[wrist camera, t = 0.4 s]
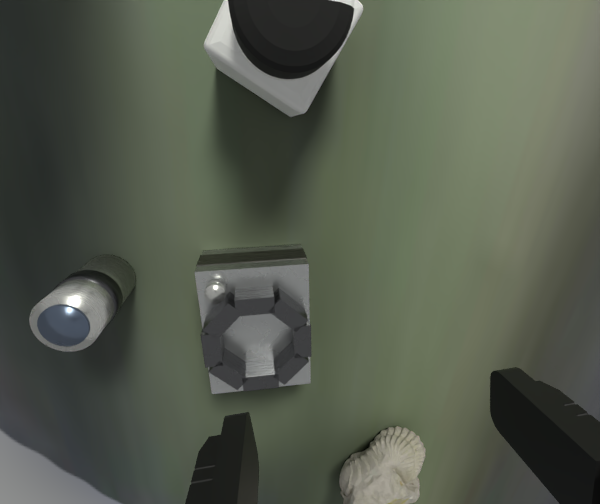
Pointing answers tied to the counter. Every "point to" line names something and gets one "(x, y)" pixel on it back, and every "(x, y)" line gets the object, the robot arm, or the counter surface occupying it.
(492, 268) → the counter surface
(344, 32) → the medicine bottle
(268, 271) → the octagon ring plate
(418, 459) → the fossil replica
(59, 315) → the lens
